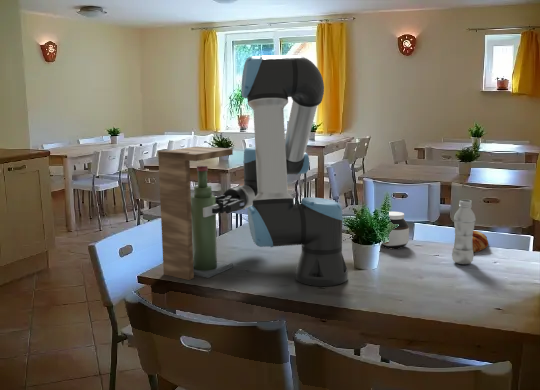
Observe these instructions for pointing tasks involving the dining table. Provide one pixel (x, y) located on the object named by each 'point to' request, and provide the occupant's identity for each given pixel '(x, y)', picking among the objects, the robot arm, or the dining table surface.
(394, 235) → the spread jar
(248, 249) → the dining table surface
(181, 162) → the shelf
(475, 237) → the croissant
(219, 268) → the seat pad
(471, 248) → the plastic bottle
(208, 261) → the wine bottle
